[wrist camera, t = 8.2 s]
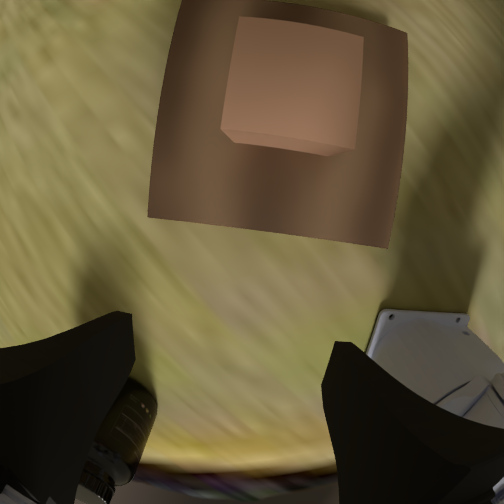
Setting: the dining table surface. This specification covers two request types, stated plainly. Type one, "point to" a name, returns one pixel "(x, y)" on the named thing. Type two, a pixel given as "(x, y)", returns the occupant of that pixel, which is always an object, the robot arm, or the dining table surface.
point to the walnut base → (269, 158)
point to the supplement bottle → (118, 444)
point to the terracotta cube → (293, 87)
